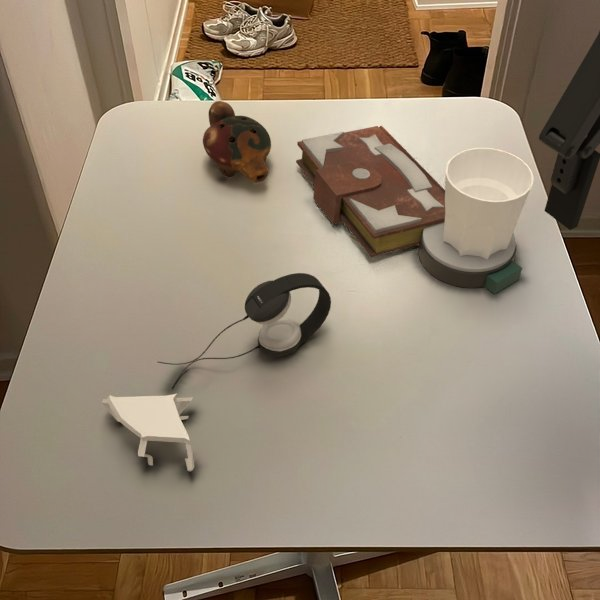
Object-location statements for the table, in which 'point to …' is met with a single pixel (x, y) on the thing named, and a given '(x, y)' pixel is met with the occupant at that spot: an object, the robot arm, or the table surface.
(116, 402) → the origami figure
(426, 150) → the table surface
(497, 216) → the cup
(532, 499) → the table surface
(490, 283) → the scale
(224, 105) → the ocarina
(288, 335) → the headphones
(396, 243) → the book
